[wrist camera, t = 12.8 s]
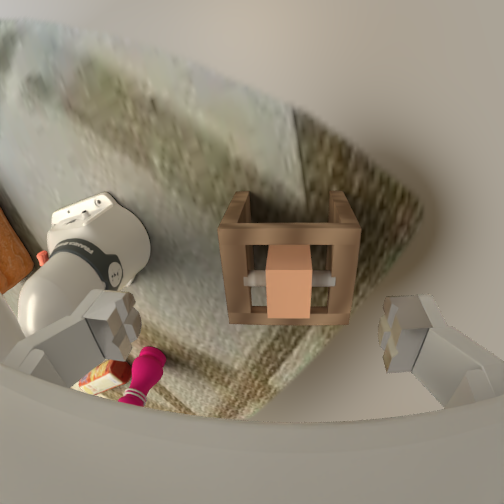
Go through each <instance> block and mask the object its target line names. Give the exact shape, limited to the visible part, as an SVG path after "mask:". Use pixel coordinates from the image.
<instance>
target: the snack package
mask: <svg viewBox="0 0 504 504" xmlns="http://www.w3.org/2000/svg"><path fill="white" fill-rule="evenodd" d="M131 375H132V367H131V366H130V365H129V364H128V363H127V362H126V361H125V362H124V361H117V360H108V361H106V362H104V363H102V364H100V365H99V366H97V367H95V368H94V369H93V370H91V371H90V372H89V373H88V374H86V375H85V376H84V377H83V378H81V379H80V381H79V387H80V389H81V390H83V391H84V392H85V393H87V394H91V395H97V394H99V393H102V392H105V391H107V390H110V389H112V388H115V387H118V386H120V385H123V384H126V383H127V382H129V380H130V378H131Z"/></svg>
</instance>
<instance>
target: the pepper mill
mask: <svg viewBox="0 0 504 504" xmlns="http://www.w3.org/2000/svg"><path fill="white" fill-rule="evenodd" d="M165 362H166V357H165V355H164V354H163V352H161V351H160V350H158V349H157V348H154V347H149V346H148V347H144V348H143V349H142V350H141V352H140V355H139V357H137V358H136V359H135V360H134V362H133V365H132V381H131V384H130V387H129V389H126V390H125V393H124V397H121V398H120V399H119V400H118V402H123V403H127V404H132V405H136V406H141V407H144V405H145V404H146V401H147V398H146V396H147V393H148V392H149V390H150V389H151V388H152V387H153V386H154V385H155V384H156V383H157V382H158V381H159V380H160V379H161V377H162V375H163V367H164V364H165Z"/></svg>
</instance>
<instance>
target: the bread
mask: <svg viewBox="0 0 504 504" xmlns="http://www.w3.org/2000/svg"><path fill="white" fill-rule="evenodd" d="M33 266H34V263H33V261H32V259H31V257H30V255H29V253H28V251H27V250H26V248H25V247H24V245H23V244H22V242H21V240H20V239H19V237H18V236H17V234H16V233H15V231H14V230H13V228H12V227H11V225H10V224H9V222H8V220H7V218H6V217H5V215H4V213H3V211H2V209H1V207H0V292H1V294H2V295H3V294H4V293H5V292H6V291H8V290H9V289H11V288H12V287H14V286H15V285H16V284H17V283H19V282H20V281H21V280H22V279H23V278H24V277H26V276H27V275H28V274H29V273H30V272H31V271H32V270H33Z"/></svg>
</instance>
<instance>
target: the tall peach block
mask: <svg viewBox="0 0 504 504" xmlns="http://www.w3.org/2000/svg"><path fill="white" fill-rule="evenodd" d="M311 288H312V262H311V253H310V245H269V248H268V255H267V263H266V291H267V314H268V318H310V305H311Z"/></svg>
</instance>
